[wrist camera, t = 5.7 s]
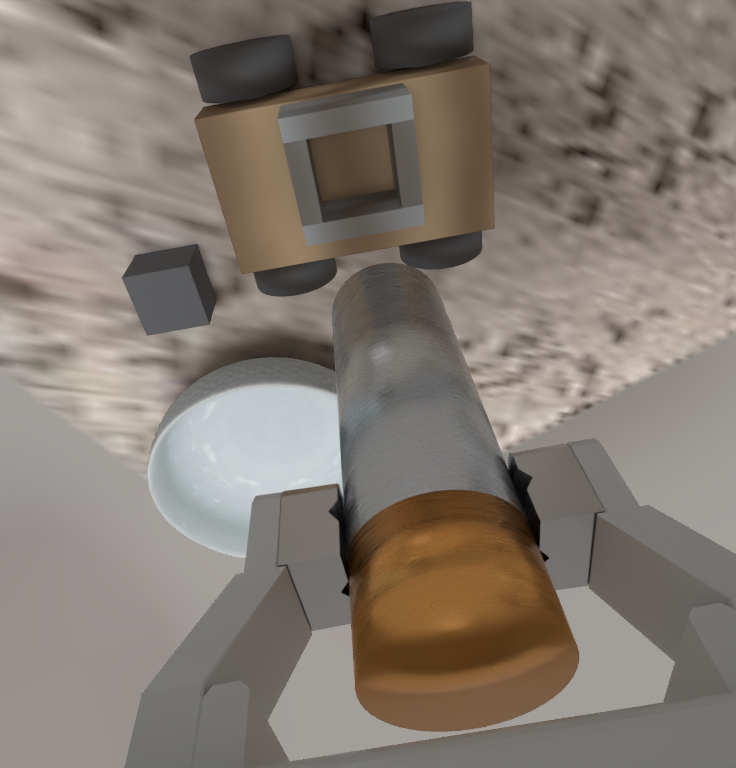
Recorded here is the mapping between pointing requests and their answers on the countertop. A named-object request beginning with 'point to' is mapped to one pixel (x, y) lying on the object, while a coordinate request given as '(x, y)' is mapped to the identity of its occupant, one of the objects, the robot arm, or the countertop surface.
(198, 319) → the dark grey cube
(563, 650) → the grey and orange cylinder
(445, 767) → the robot arm
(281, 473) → the cereal bowl
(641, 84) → the countertop surface
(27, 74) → the countertop surface
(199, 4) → the countertop surface
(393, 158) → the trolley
